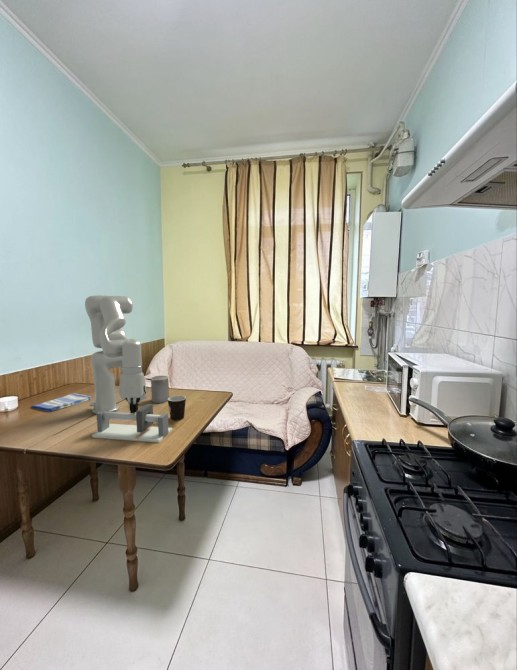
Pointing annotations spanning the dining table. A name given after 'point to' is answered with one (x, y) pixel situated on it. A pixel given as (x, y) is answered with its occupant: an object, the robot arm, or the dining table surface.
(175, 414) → the coffee mug
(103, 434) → the pipe rig
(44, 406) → the dish towel
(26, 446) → the dining table surface
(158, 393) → the pillar candle
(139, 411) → the collar
